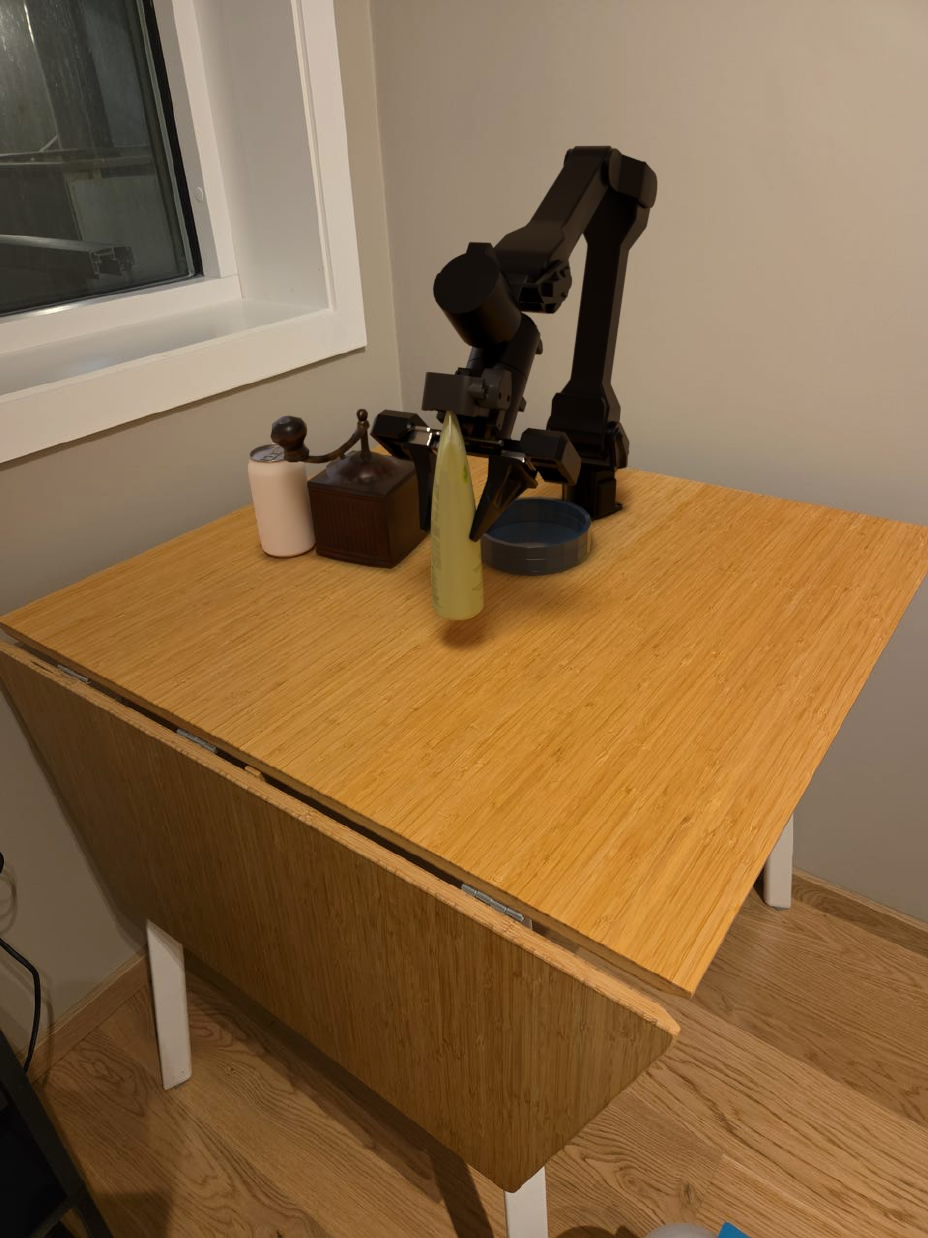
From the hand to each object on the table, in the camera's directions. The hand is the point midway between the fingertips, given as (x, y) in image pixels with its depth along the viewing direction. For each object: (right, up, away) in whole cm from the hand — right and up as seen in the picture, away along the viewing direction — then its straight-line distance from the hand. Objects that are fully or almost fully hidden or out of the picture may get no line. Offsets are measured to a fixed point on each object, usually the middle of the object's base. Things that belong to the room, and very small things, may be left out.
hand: (447, 535), depth 80 cm
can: (-19, +1, +28) cm, 35 cm away
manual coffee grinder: (-11, 0, +26) cm, 28 cm away
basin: (+9, +1, +25) cm, 27 cm away
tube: (+1, -6, +6) cm, 9 cm away
